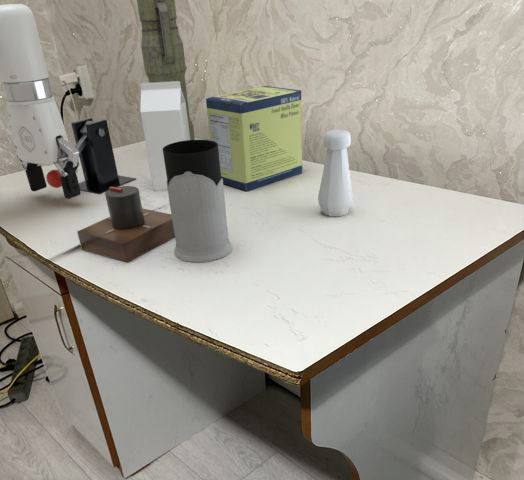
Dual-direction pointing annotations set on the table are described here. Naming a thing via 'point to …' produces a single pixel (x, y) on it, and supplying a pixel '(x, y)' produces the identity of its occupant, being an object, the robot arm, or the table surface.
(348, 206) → the salt shaker
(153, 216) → the dial panel
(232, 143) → the protein box
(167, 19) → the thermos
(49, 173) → the lever
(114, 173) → the lever bracket
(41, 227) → the table surface
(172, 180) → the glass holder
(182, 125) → the milk carton
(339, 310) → the table surface
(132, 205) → the dial
